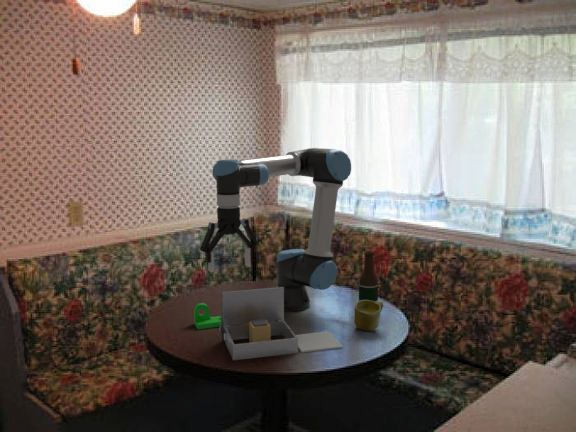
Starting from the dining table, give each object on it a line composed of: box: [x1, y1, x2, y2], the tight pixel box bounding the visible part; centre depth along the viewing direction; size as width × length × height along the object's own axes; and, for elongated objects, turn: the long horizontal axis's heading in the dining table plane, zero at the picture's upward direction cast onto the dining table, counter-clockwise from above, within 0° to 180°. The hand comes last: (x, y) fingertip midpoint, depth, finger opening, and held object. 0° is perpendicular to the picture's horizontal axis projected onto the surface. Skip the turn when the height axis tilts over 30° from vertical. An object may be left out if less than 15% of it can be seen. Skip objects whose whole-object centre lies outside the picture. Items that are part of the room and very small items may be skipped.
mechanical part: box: [193, 302, 221, 330], centre depth 213 cm, size 12×6×8 cm, turn 111°
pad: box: [295, 330, 343, 354], centre depth 196 cm, size 14×14×1 cm
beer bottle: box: [358, 250, 379, 302], centre depth 226 cm, size 8×8×24 cm
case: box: [218, 286, 299, 361], centre depth 192 cm, size 23×18×17 cm
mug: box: [354, 299, 384, 332], centre depth 209 cm, size 12×10×10 cm
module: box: [248, 319, 272, 343], centre depth 193 cm, size 6×6×9 cm
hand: (229, 268), depth 194 cm, fingers open, 13 cm apart
